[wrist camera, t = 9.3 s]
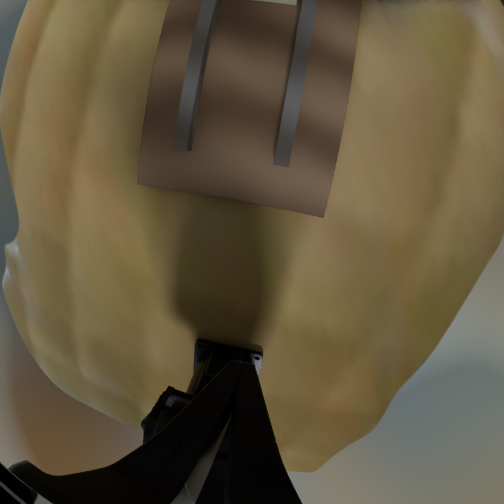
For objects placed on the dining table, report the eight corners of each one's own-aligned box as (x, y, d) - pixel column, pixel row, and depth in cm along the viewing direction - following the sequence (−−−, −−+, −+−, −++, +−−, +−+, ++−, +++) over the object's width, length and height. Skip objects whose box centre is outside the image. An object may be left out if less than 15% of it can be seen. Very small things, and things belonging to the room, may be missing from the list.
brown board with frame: (321, 214, 20) (343, 265, 12) (143, 182, 21) (69, 211, 13) (362, -47, 11) (386, -105, 3) (198, -61, 12) (163, -115, 3)
